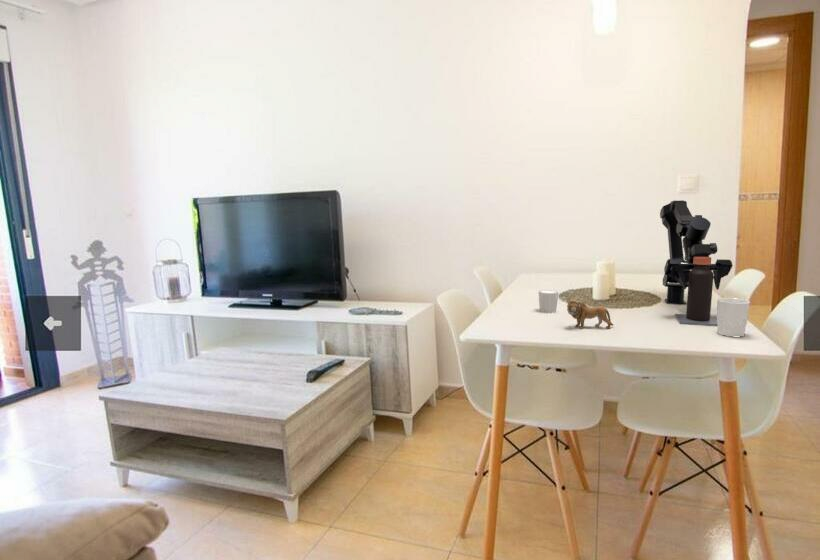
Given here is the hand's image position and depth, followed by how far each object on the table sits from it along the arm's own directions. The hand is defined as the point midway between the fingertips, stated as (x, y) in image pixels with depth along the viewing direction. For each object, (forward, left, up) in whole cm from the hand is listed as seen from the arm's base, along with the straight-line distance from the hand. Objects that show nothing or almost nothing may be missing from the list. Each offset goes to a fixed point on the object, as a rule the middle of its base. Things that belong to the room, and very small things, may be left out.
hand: (701, 288), depth 160 cm
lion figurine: (+17, -33, -11) cm, 39 cm away
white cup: (+14, +6, -11) cm, 19 cm away
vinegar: (-1, 0, -10) cm, 10 cm away
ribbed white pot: (-3, -47, -11) cm, 48 cm away
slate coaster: (-1, 0, -11) cm, 11 cm away
